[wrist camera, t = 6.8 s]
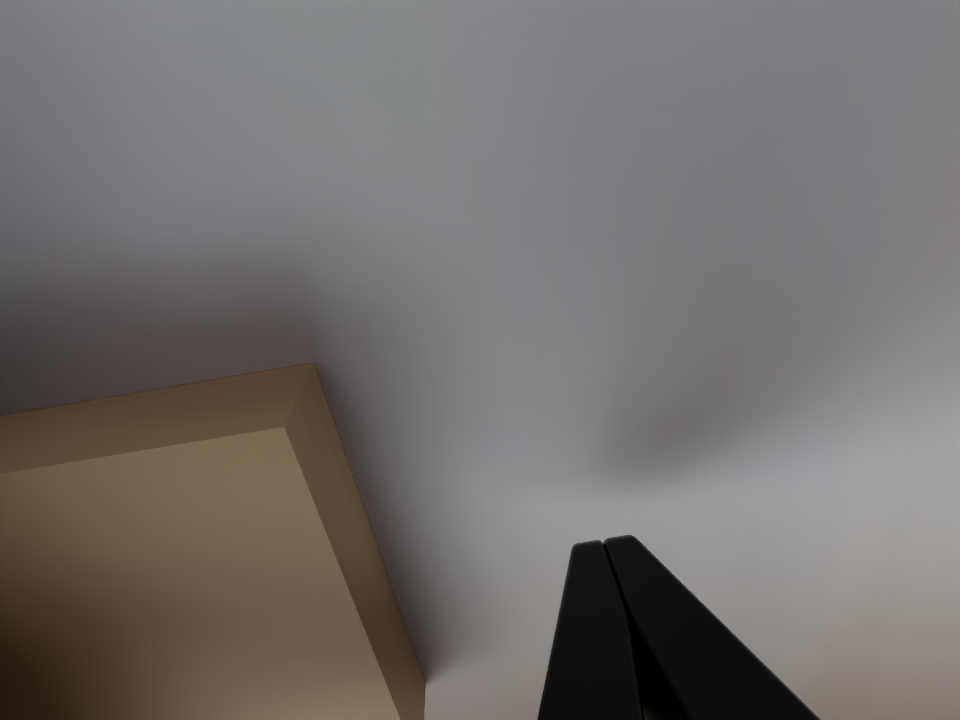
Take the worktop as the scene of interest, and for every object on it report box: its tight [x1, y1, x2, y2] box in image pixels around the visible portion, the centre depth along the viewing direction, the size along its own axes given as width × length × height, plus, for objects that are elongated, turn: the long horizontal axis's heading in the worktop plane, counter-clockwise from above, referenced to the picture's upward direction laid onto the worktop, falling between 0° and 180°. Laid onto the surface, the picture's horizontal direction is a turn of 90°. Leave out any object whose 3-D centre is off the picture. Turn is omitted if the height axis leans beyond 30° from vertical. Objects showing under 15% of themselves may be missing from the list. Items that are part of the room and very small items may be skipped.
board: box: [0, 362, 425, 720], centre depth 9 cm, size 7×10×2 cm
